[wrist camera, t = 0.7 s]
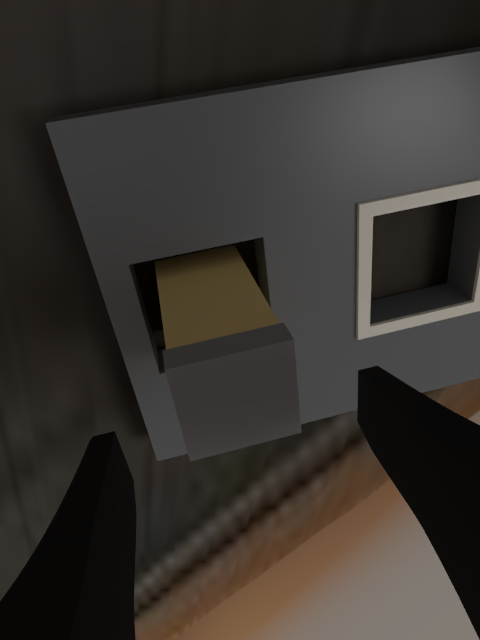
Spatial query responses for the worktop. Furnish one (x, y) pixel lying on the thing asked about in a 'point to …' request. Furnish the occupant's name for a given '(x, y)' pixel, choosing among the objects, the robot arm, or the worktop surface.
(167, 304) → the plug
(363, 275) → the socket panel
